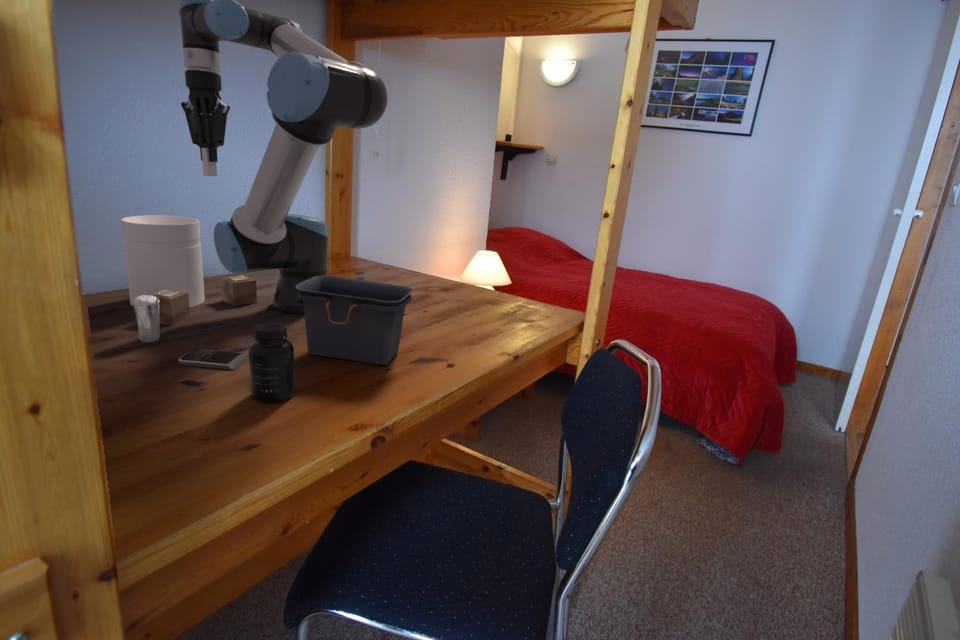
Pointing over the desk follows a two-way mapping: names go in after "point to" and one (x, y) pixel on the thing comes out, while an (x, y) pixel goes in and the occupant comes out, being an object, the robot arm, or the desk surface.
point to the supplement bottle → (271, 364)
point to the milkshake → (147, 317)
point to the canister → (163, 256)
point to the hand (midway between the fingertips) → (210, 175)
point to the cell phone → (214, 359)
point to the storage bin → (353, 318)
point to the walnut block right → (239, 290)
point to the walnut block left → (172, 306)
